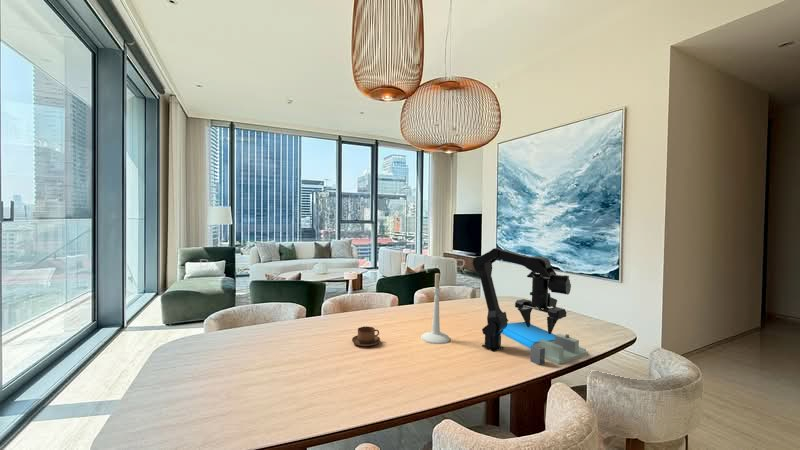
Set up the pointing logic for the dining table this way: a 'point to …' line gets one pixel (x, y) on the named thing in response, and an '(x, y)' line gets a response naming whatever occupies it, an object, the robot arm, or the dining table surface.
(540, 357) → the block
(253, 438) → the dining table surface
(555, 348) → the vise
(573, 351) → the jaw
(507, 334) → the book
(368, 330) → the cup and saucer
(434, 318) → the candlestick
